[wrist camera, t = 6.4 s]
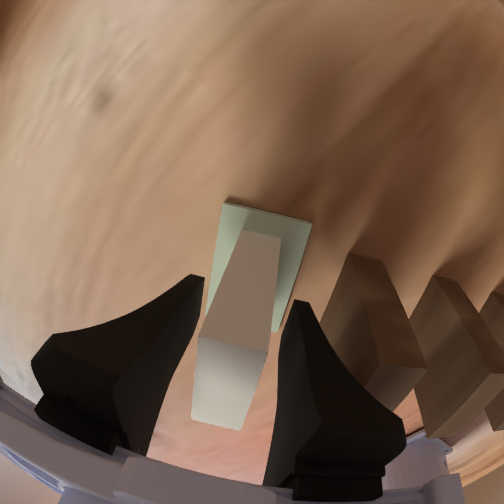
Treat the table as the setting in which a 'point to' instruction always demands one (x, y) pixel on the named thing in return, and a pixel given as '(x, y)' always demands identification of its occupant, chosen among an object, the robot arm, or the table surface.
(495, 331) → the domino
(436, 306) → the domino
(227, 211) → the pad
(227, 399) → the domino
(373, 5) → the table surface
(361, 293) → the domino
